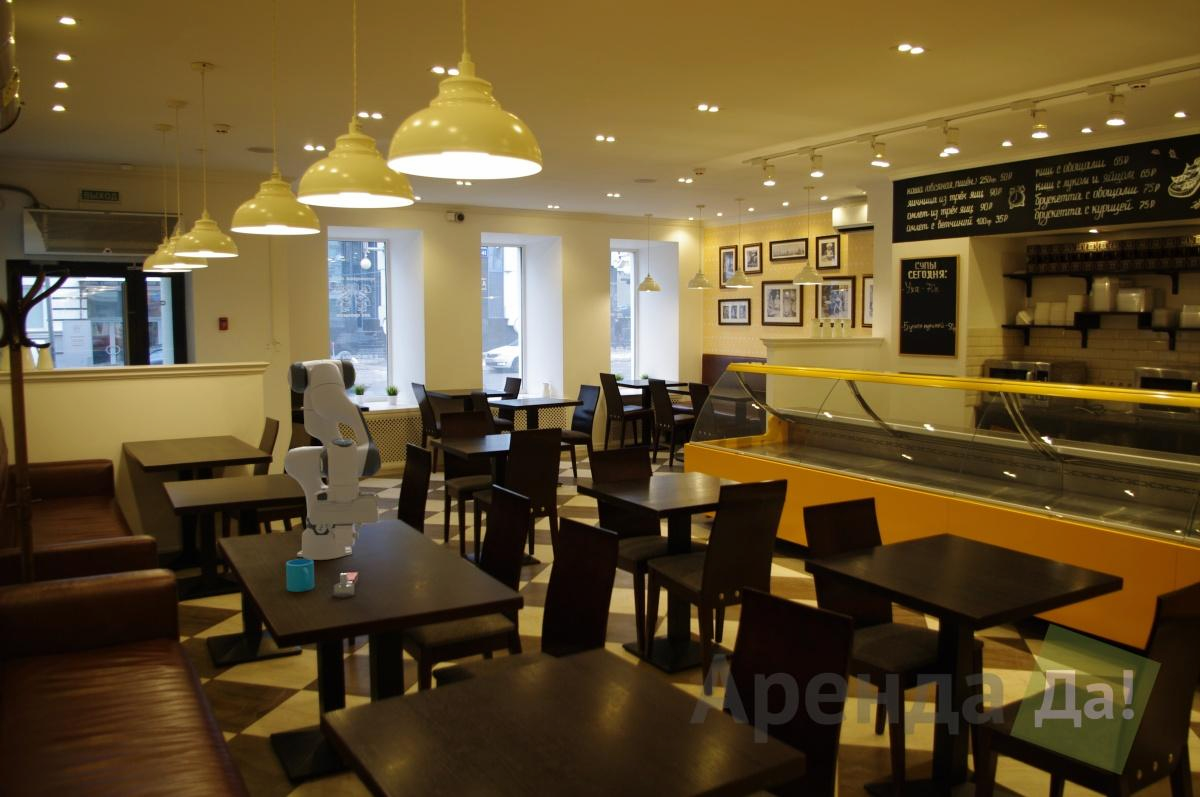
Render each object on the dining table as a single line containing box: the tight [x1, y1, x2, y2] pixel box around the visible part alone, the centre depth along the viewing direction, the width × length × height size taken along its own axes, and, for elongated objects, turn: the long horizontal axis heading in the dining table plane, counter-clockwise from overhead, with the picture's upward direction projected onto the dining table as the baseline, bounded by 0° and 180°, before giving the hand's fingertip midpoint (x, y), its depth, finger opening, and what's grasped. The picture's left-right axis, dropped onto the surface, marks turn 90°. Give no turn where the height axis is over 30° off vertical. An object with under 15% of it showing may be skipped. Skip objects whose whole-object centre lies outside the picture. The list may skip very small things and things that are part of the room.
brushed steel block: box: [335, 524, 356, 548], centre depth 271 cm, size 5×5×6 cm
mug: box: [285, 558, 315, 593], centre depth 277 cm, size 12×8×8 cm
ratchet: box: [333, 571, 359, 599], centre depth 278 cm, size 18×6×6 cm, turn 6°
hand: (345, 538), depth 271 cm, fingers closed on brushed steel block, 5 cm apart
